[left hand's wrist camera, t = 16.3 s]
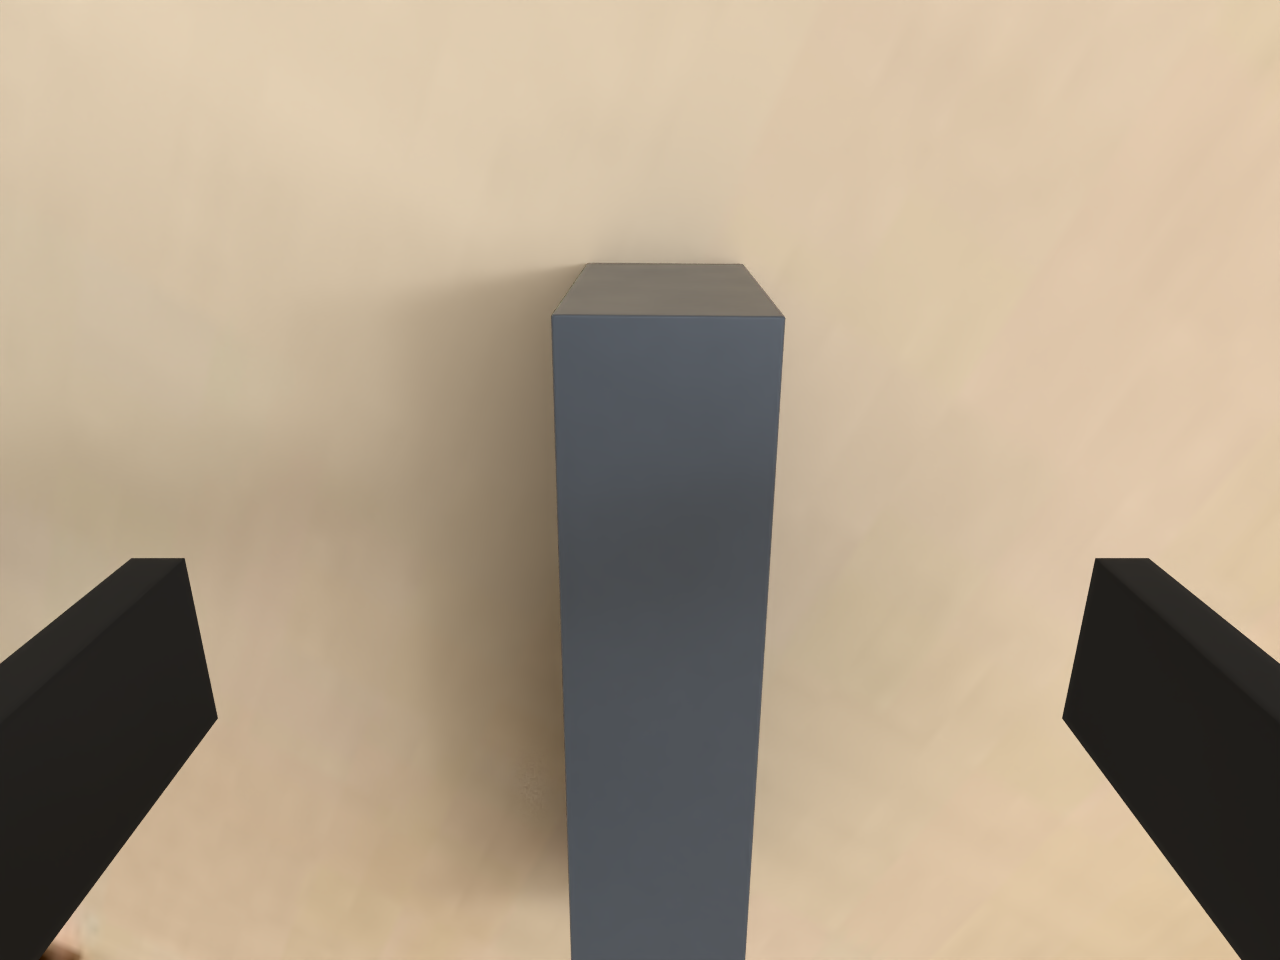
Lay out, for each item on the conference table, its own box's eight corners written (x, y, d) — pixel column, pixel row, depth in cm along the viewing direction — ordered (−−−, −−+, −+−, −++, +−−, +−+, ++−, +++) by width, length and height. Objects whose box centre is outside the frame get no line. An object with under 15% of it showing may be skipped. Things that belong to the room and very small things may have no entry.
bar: (586, 262, 25) (551, 314, 17) (743, 263, 25) (785, 316, 17) (596, 860, 33) (574, 1099, 25) (717, 862, 33) (736, 1102, 25)
